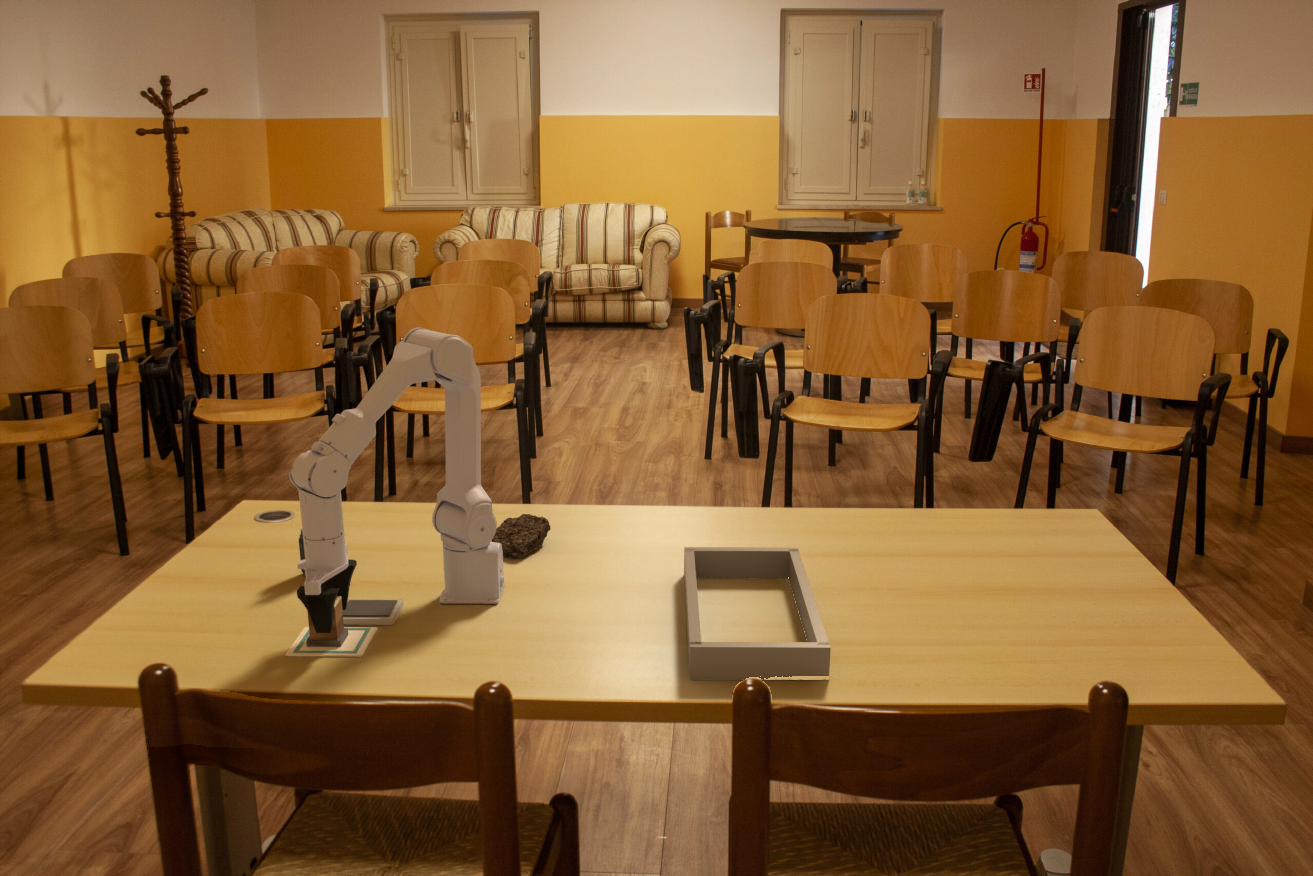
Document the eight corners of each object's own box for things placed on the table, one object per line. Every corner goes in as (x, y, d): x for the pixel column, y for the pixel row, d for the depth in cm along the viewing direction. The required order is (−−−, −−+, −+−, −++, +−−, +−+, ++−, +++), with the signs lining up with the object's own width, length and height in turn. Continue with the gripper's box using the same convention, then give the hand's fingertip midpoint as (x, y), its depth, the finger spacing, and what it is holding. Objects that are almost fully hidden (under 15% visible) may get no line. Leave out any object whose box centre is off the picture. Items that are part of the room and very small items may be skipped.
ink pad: (403, 605, 175) (402, 598, 175) (393, 624, 168) (392, 617, 168) (346, 605, 175) (346, 598, 175) (334, 624, 168) (333, 616, 168)
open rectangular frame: (796, 575, 187) (797, 547, 186) (828, 680, 152) (830, 647, 150) (684, 574, 187) (684, 547, 186) (689, 680, 152) (690, 647, 150)
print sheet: (377, 629, 167) (377, 626, 167) (362, 656, 158) (361, 654, 158) (305, 628, 167) (304, 626, 167) (285, 656, 158) (285, 653, 158)
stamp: (348, 634, 164) (345, 595, 163) (340, 646, 160) (337, 607, 159) (314, 634, 164) (311, 595, 163) (306, 646, 160) (303, 606, 159)
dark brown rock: (519, 532, 207) (518, 507, 206) (560, 544, 202) (559, 518, 200) (476, 551, 198) (474, 524, 197) (518, 563, 192) (517, 536, 191)
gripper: (311, 516, 165) (319, 599, 169) (279, 552, 151) (288, 642, 155) (358, 516, 165) (365, 599, 169) (330, 552, 151) (338, 642, 155)
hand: (331, 620), depth 162 cm, fingers open, 7 cm apart
